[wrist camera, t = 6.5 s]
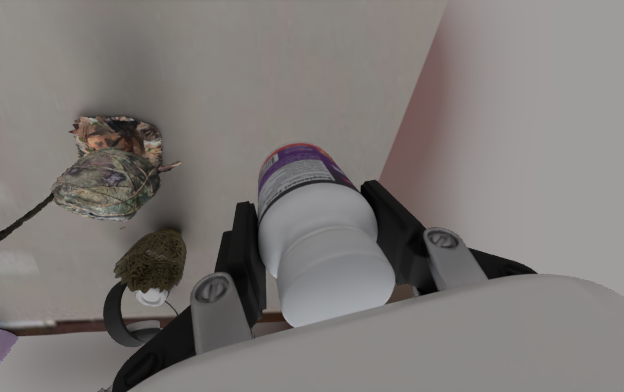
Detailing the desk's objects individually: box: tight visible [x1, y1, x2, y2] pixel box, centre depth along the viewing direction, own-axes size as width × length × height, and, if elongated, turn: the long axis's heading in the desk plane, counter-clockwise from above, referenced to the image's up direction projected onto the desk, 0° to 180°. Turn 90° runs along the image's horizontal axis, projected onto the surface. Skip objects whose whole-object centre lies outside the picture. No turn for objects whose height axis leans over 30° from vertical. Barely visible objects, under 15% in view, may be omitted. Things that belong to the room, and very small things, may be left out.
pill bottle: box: [257, 141, 395, 328], centre depth 11 cm, size 5×5×10 cm
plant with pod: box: [0, 115, 182, 241], centre depth 19 cm, size 8×11×20 cm
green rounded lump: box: [114, 228, 186, 294], centre depth 31 cm, size 8×7×8 cm
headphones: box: [103, 281, 178, 347], centre depth 38 cm, size 10×4×20 cm
